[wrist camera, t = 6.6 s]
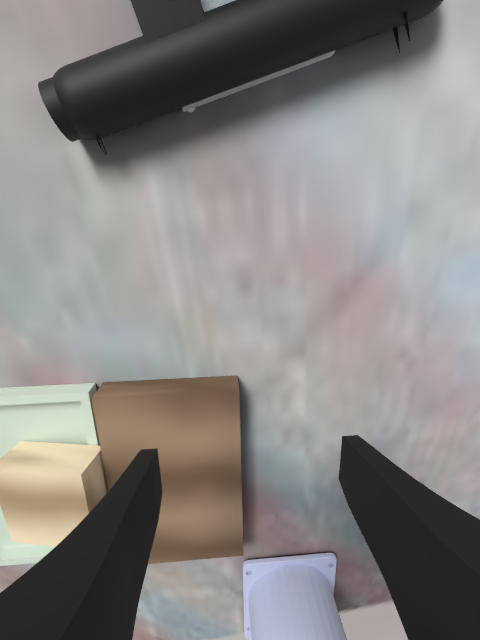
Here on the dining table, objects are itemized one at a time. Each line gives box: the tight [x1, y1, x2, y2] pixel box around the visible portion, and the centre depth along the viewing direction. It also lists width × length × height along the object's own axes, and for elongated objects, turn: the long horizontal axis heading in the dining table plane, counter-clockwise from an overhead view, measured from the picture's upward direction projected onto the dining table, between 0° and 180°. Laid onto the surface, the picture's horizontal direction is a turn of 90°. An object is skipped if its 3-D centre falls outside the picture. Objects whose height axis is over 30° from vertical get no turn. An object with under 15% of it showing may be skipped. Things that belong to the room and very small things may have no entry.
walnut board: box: [91, 376, 243, 564], centre depth 22 cm, size 14×9×2 cm, turn 1°
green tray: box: [0, 383, 100, 566], centre depth 22 cm, size 14×10×1 cm
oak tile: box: [0, 441, 108, 547], centre depth 20 cm, size 6×6×2 cm
